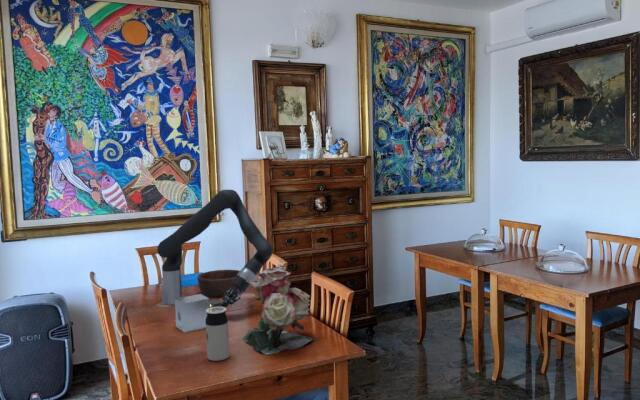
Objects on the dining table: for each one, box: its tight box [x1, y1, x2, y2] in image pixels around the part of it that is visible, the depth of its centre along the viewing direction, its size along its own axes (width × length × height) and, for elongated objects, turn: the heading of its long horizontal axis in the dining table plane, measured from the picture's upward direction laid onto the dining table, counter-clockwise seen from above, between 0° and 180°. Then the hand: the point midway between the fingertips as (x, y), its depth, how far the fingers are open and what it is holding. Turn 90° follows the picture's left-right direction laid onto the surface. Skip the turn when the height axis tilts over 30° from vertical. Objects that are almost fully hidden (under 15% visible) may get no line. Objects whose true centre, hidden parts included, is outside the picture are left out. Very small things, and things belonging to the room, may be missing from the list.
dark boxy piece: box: [178, 299, 223, 319], centre depth 228 cm, size 18×6×8 cm, turn 124°
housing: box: [174, 293, 210, 334], centre depth 226 cm, size 12×10×12 cm
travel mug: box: [205, 307, 230, 362], centre depth 190 cm, size 8×8×18 cm
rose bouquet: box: [242, 264, 315, 356], centre depth 205 cm, size 26×29×30 cm
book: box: [161, 271, 204, 288], centre depth 307 cm, size 17×4×25 cm
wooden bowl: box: [197, 269, 240, 298], centre depth 283 cm, size 25×25×10 cm
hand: (220, 310), depth 234 cm, fingers closed
